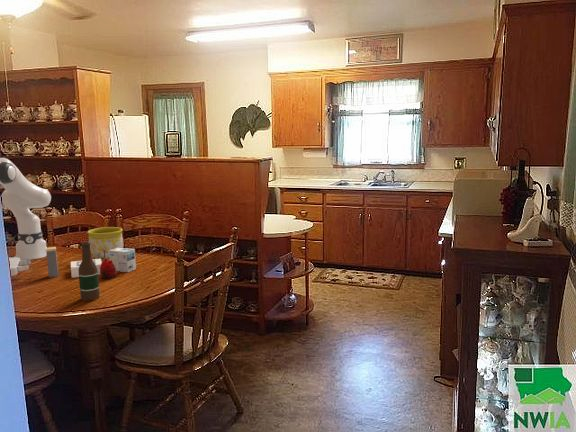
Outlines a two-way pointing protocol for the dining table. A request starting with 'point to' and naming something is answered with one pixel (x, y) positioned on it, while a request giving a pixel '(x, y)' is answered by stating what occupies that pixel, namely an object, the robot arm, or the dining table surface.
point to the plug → (52, 262)
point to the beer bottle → (88, 275)
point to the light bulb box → (123, 259)
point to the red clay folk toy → (107, 268)
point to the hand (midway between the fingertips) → (29, 264)
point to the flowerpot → (104, 241)
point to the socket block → (76, 265)
